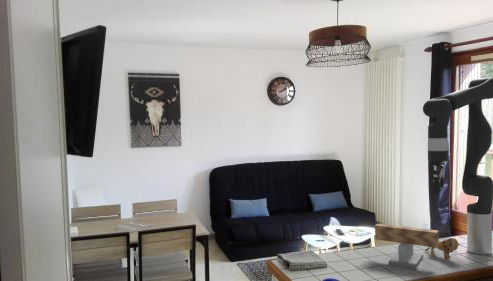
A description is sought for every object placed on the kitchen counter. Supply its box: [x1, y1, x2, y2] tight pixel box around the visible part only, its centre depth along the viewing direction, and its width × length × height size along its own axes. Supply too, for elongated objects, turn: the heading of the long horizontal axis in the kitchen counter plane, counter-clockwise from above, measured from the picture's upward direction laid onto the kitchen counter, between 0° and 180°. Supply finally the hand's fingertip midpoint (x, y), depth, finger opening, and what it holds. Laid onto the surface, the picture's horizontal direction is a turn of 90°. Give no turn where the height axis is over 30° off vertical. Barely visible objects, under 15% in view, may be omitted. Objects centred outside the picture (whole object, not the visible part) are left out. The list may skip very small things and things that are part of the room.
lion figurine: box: [424, 237, 460, 260], centre depth 167 cm, size 15×5×9 cm, turn 34°
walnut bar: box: [374, 223, 440, 249], centre depth 162 cm, size 24×4×6 cm, turn 55°
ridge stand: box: [388, 243, 424, 271], centre depth 162 cm, size 16×10×8 cm, turn 145°
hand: (438, 189), depth 158 cm, fingers open, 8 cm apart
